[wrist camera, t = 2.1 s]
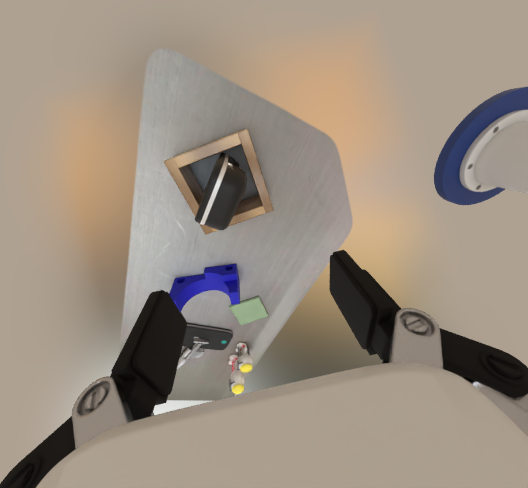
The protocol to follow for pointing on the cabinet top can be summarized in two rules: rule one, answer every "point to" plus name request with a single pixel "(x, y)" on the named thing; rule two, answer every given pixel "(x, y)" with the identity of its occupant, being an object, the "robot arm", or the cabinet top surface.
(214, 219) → the black zipper case
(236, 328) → the cabinet top surface
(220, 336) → the smartphone
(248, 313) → the mat
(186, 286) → the cable clip
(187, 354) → the caliper
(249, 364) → the toy figures
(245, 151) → the holder
